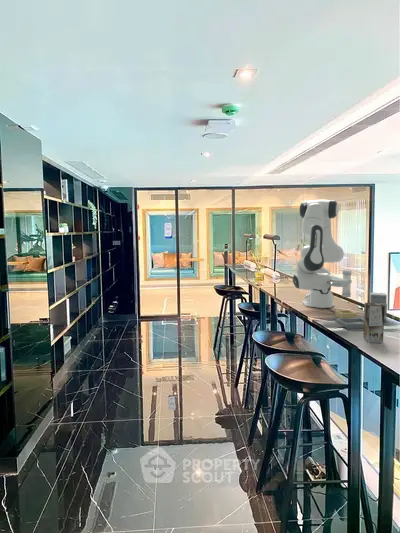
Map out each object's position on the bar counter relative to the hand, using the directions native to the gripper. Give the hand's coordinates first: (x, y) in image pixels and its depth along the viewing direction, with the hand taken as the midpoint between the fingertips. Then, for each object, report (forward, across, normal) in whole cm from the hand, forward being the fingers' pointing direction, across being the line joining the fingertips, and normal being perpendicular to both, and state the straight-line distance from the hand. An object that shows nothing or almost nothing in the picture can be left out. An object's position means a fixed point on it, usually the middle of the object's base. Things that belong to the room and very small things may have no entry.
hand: (348, 280), depth 212 cm
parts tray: (-4, -15, +21) cm, 26 cm away
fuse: (-1, 0, +8) cm, 9 cm away
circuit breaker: (+12, -10, +21) cm, 26 cm away
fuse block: (-1, 0, +21) cm, 21 cm away
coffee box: (-8, -39, +21) cm, 45 cm away
